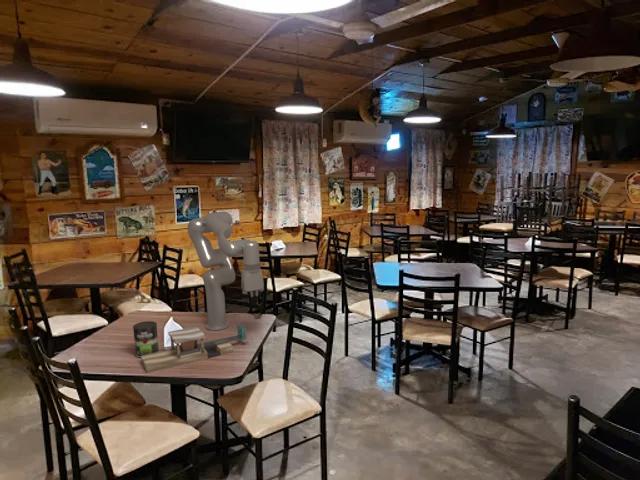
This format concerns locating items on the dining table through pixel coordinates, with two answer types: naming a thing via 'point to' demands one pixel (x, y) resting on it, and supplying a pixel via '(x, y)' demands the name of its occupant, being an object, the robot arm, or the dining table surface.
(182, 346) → the block
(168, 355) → the tunnel
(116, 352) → the dining table surface
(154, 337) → the coffee can
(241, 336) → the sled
